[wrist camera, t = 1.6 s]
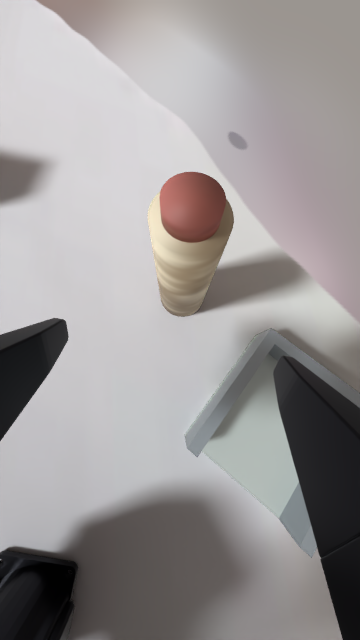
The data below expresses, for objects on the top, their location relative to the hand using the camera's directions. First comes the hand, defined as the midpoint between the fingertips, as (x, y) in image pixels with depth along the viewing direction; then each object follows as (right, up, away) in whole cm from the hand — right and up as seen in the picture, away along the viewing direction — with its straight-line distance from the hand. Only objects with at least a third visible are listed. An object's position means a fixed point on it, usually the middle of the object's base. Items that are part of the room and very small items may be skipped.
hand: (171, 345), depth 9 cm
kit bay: (+9, -8, +11) cm, 17 cm away
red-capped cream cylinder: (+1, +4, +14) cm, 15 cm away
